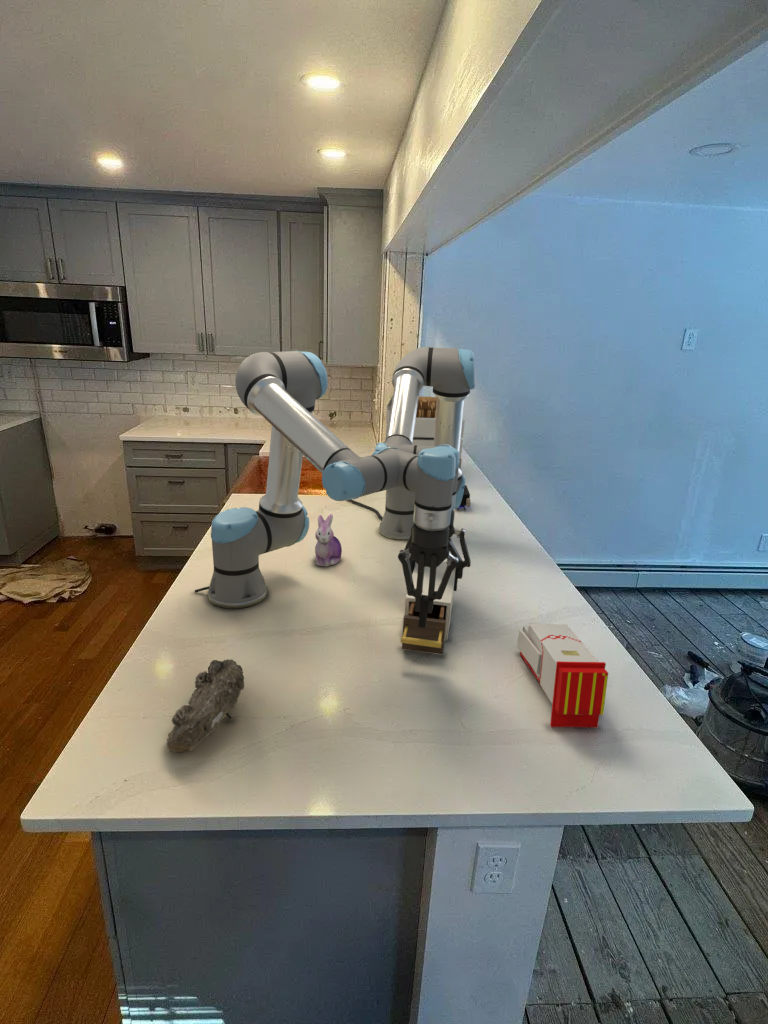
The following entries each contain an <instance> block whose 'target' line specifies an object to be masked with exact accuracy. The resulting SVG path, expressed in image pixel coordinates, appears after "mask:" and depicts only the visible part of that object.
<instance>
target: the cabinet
mask: <svg viewBox="0 0 768 1024" xmlns="http://www.w3.org/2000/svg"><path fill="white" fill-rule="evenodd" d="M446 567H447V561H445V560H444V561H443V562H442V563H441V564H440V565H439V566H438V567H437V570H436V581H435V591H438V588H439V585H440V583H441V580H442V578H443V575H444V572H445V570H446ZM455 570H456V568H455V569H454V570H453V571H452V573H451V576H450V578H449V581H448V583H447V586H446V589H445V591H444V594H443V596H442V599H440V600H438V599H435V600H434V601H433V604H436V605H443V606H446V613H445V619H444V620H446V627H445V638H444V641H448V639H449V634H450V625H451V617H452V610H453V603H454V594H455V591H454V581H455ZM417 574H418V564H417V563H416V564H415V567H414V571H413V574H412V578H413V583H414V588H415V589H416V586H417ZM429 577H430V567H425V569H424V580H423V592H422V595H428V588H429ZM411 602H415V597H413V596H409V595H408V594H407V593H406V595H405V603H404V604H405V605H404V615H409V610H410V606H411Z"/></svg>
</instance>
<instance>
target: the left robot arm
mask: <svg viewBox="0 0 768 1024" xmlns="http://www.w3.org/2000/svg"><path fill="white" fill-rule="evenodd" d="M327 373H328V372H327V369H326V367H325V366H324V364H323V362H322V360H321V358H319V357H318V356H317V355H316V354H314V353H313V352H311V351H300V350H289V351H287V350H286V351H269V352H268V351H260V352H256V353H253V354H250V355H249V356H247V357H246V358H245V359H243V360H242V362H241V363H240V365H239V366H238V368H237V370H236V373H235V379H234V382H235V384H234V385H235V390H236V393H237V397H239V399H240V401H241V403H242V404H243V405H244V406H245V407H246V408H247V410H249V412H251V413H252V414H253V415H256V416H261V417H263V419H265V420H266V421H267V422H268V423H269V424H270V425H271V430H270V431H271V433H270V444H269V455H268V466H267V476H266V488H265V494H264V495H262V496H261V497H260V498H259V502H258V510H254V509H253V508H251V507H243V506H242V507H239V508H238V507H233V508H229V509H225V510H223V511H221V512H219V513H217V515H215V516H214V517H213V518H212V521H211V527H210V529H211V530H210V539H211V548H212V562H213V564H212V565H213V573H212V576H211V579H210V583H209V586H204V587H200V588H198V589H194V593H199V592H203V591H206V590H207V595H208V596H207V597H208V601H209V602H210V603H211V604H212V605H214V606H216V607H219V608H223V609H244V608H249V607H253V606H255V605H258V604H259V603H261V602H262V601H263V600H265V598H266V597H267V595H268V592H267V591H268V589H267V584H266V581H265V579H264V578H265V577H264V575H263V573H262V572H261V569H260V556H261V555H263V554H267V553H270V552H274V551H278V550H280V549H284V548H287V547H292V546H294V545H295V544H298V543H300V542H302V541H303V540H304V539H305V538H306V537H307V534H308V532H309V529H310V518H309V516H308V514H309V513H308V510H307V509H306V507H305V506H304V505H303V501H302V500H301V499H300V498H299V491H300V482H301V474H302V466H303V458H305V459H306V460H307V461H308V462H310V464H312V465H313V466H314V468H315V469H316V470H318V471H319V472H320V473H321V483H322V487H323V489H325V494H326V495H327V496H328V497H329V498H330V499H331V500H333V501H336V502H344V501H348V500H356V499H359V498H363V497H365V496H368V495H371V494H372V495H373V494H376V493H380V492H383V491H384V492H385V491H386V490H388V489H391V488H395V487H400V488H403V489H406V490H409V491H412V492H415V506H414V518H413V521H414V524H413V531H412V543H411V544H410V546H409V548H408V549H406V550H404V549H400V550H399V552H398V555H397V558H398V560H399V562H400V564H401V566H402V572H403V575H404V576H403V577H404V582H405V588H406V595H407V594H408V595H409V596H413V597H415V611H416V612H420V613H419V624H418V627H422V628H425V626H426V620H427V613H432V610H433V601H434V600H435V599H438V600H440V599H442V596H443V594H444V591H445V589H446V586H447V583H448V581H449V578H450V576H451V573H452V571H453V570H454V569H455V568H456V566H457V565H458V561H459V558H458V557H457V556H455V557H454V556H453V555H452V554H451V553H450V551H449V548H448V537H449V527H448V526H449V525H450V518H451V509H452V494H453V487H454V480H455V476H456V472H455V464H456V458H455V455H454V454H453V453H452V452H450V451H448V450H444V449H437V448H427V449H423V450H421V451H420V452H419V455H416V454H412V453H409V452H406V451H402V450H400V449H397V448H394V447H393V448H391V447H380V448H378V449H377V450H376V451H375V450H374V451H373V452H372V454H371V455H366V456H359V455H358V454H357V453H356V452H355V451H353V450H352V449H351V448H350V447H349V446H348V445H346V444H345V443H344V441H342V440H341V439H340V438H339V437H338V436H337V435H336V434H335V433H333V432H332V431H331V430H330V429H329V428H327V426H326V425H325V424H323V423H322V422H321V421H320V420H319V419H318V418H316V417H315V415H314V414H312V413H314V412H315V408H316V401H317V400H319V399H321V398H322V397H323V396H324V395H325V394H326V392H327V390H328V385H329V382H328V381H329V380H328V379H329V378H328V374H327ZM410 554H411V556H412V557H413V559H414V560H415V562H416V563H417V564H418V574H417V586H416V589H415V588H414V583H413V578H412V572H411V567H410V561H409V559H410ZM445 560H446V562H447V567H446V570H445V572H444V575H443V578H442V580H441V583H440V585H439V588H438V591H435V581H436V570H437V567H438V566H439V565H440V564H441V563H442V562H443V561H444V562H445ZM425 567H430V577H429V588H428V595H422V592H423V580H424V569H425Z"/></svg>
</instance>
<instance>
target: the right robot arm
mask: <svg viewBox="0 0 768 1024" xmlns="http://www.w3.org/2000/svg"><path fill="white" fill-rule="evenodd" d="M475 370H476V369H475V354H474V352H473V350H470V349H465V348H460V347H458V348H457V347H431V346H422V347H418V348H415V349H413V350H411V351H410V352H408V353H406V354H405V355H404V356H403V357H402V358H401V359H400V361H398V363H397V364H396V366H395V368H394V370H393V373H392V378H391V384H392V387H393V393H392V396H393V398H392V397H391V398H392V403H391V409H390V415H389V421H388V427H387V432H386V431H385V438H384V442H378V443H376V445H375V448H374V452H375V451H376V450H377V449H378V448H380V447H391V448H393V447H394V448H397V449H400V450H402V451H406V452H409V453H412V454H416V455H419V452H420V451H421V450H423V449H427V448H437V449H444V450H448V451H450V452H452V453H453V454H454V455H455V458H456V464H455V472H456V476H455V480H454V487H453V494H452V509H451V518H450V525H449V526H448V527H449V537H448V548H449V551H450V552H449V553H450V554H451V555H453V556H454V557H455V556H457V557H458V558H459V561H458V565H457V566H456V570H455V581H454V592H457V591H458V581H459V580H462V579H463V575H464V574H463V573H464V569H465V568H470V567H471V563H472V561H471V556H470V553H469V548H468V545H467V541H466V529H465V528H460V529H459V528H458V529H457V528H455V526H454V523H455V510H457V508H458V509H459V506H460V504H461V501H462V497H463V493H464V487H465V485H466V477H465V476H464V475H463V472H462V469H461V470H460V469H459V464H460V460H459V455H460V454H459V450H460V439H461V440H462V438H461V429H462V419H464V408H465V407H464V406H465V399H466V398H467V397H469V396H470V394H471V391H472V390H474V389H476V371H475ZM424 387H432V394H433V395H434V397H437V405H436V419H435V433H434V447H433V446H417V445H412V443H413V436H414V428H415V421H416V413H417V405H418V398H419V397H420V392H421V391H422V389H424ZM347 501H348V502H350V503H352V504H354V505H358V506H360V507H363V508H365V509H368V510H370V511H371V512H372V511H373V512H374V513H375V514H376V515H377V517H378V519H379V520H381V522H379V527H378V533H379V534H380V535H381V536H382V537H385V538H387V539H389V540H395V541H407V542H406V543H405V547H404V549H403V550H406V549H408V548H409V546H410V544H411V543H412V531H413V524H414V521H413V518H414V506H415V492H412V491H409V490H406V489H403V488H400V487H395V488H391V489H388V490H385V504H384V505H385V507H384V508H385V509H384V513H383V515H382V516H381V514H380V512H379V510H377V509H375V508H374V507H372V506H369V505H367V504H364V503H361V502H358V501H357V500H355V499H352V500H347ZM454 535H456V538H457V539H459V544H460V550H461V552H462V553H461V554H462V556H463V559H462V557H461V555H460V553H459V551H458V550H457V548H456V546H455V544H454V542H453V540H452V537H453V536H454ZM409 561H410V567H411V572H412V574H413V571H414V567H415V564H416V562H415V560H414V559H413V557H412V556H411V554H410V559H409Z"/></svg>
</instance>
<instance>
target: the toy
mask: <svg viewBox="0 0 768 1024" xmlns="http://www.w3.org/2000/svg"><path fill="white" fill-rule="evenodd" d="M516 648H517V649H518V651H519V655H520V657H521V658H522V659H523V662H525V664H526V665H527V667H528V668H529V670H530V671H531V673H532V674H533V676H534V678H535V679H536V680H537V681H538V683H539V684H540V686H541V688H542V690H543V691H544V693H545V695H546V697H547V699H548V700H549V701H550V703H551V713H550V715H551V716H550V723H549V726H550V727H551V728H598V727H599V720H600V716H603V715H604V711H605V703H606V695H607V687H608V680H609V679H608V678H609V672H608V671H607V670H606V662H604V661H599V660H598V659H597V657H595V655H594V654H593V653H592V652H591V651H590V650H589V649H588V648H587V646H586V645H585V644H584V643H583V642H582V641H581V639H580V638H579V637H578V636H577V635H576V634H575V632H574V631H573V630H572V629H571V628H570V627H569V625H568V624H567V623H566V624H565V623H528V625H523V626H522V629H519V630H518V636H517V643H516Z"/></svg>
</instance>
